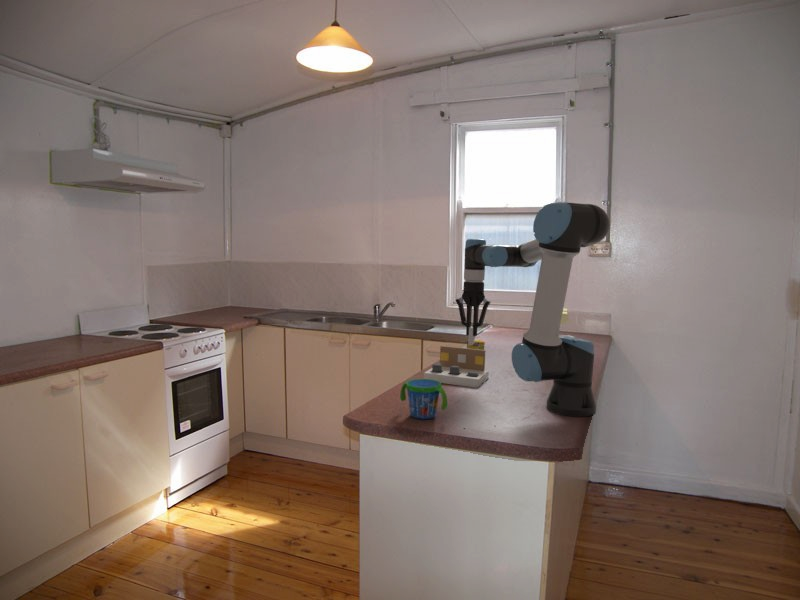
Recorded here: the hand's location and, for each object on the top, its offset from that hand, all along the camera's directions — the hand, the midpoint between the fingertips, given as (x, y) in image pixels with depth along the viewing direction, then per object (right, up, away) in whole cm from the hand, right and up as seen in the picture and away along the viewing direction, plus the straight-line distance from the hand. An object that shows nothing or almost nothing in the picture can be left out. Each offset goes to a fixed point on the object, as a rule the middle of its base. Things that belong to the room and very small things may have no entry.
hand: (471, 344), depth 205 cm
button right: (+1, -14, +1) cm, 14 cm away
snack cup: (-20, -18, -40) cm, 49 cm away
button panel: (-5, -14, +6) cm, 16 cm away
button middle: (-6, -12, +3) cm, 14 cm away
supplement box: (+5, -12, +31) cm, 34 cm away
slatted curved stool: (+55, -7, +94) cm, 109 cm away
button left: (-12, -12, +6) cm, 18 cm away
